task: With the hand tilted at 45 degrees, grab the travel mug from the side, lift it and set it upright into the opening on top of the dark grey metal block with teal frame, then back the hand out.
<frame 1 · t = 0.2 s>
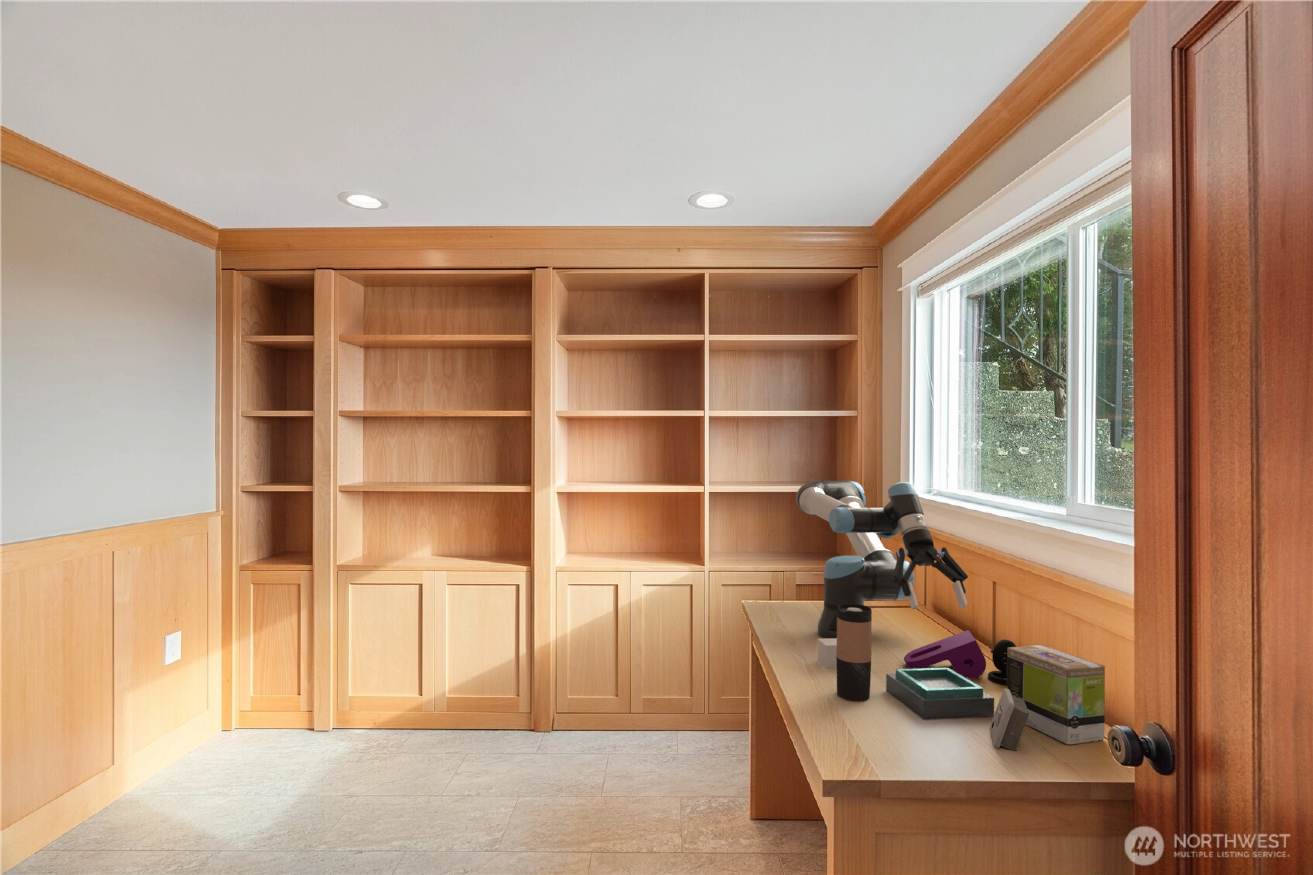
hand: (939, 607, 171), 15 cm above the table, tool tilted 35°, fingers open, 13 cm apart
electrical switch: (1006, 742, 128), on the table
block with teal frame: (937, 703, 146), on the table
travel mug: (853, 696, 150), on the table
webcam: (1004, 681, 161), on the table
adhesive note: (832, 665, 171), on the table
tea box: (1053, 728, 134), on the table
mounting bracket: (942, 671, 169), on the table
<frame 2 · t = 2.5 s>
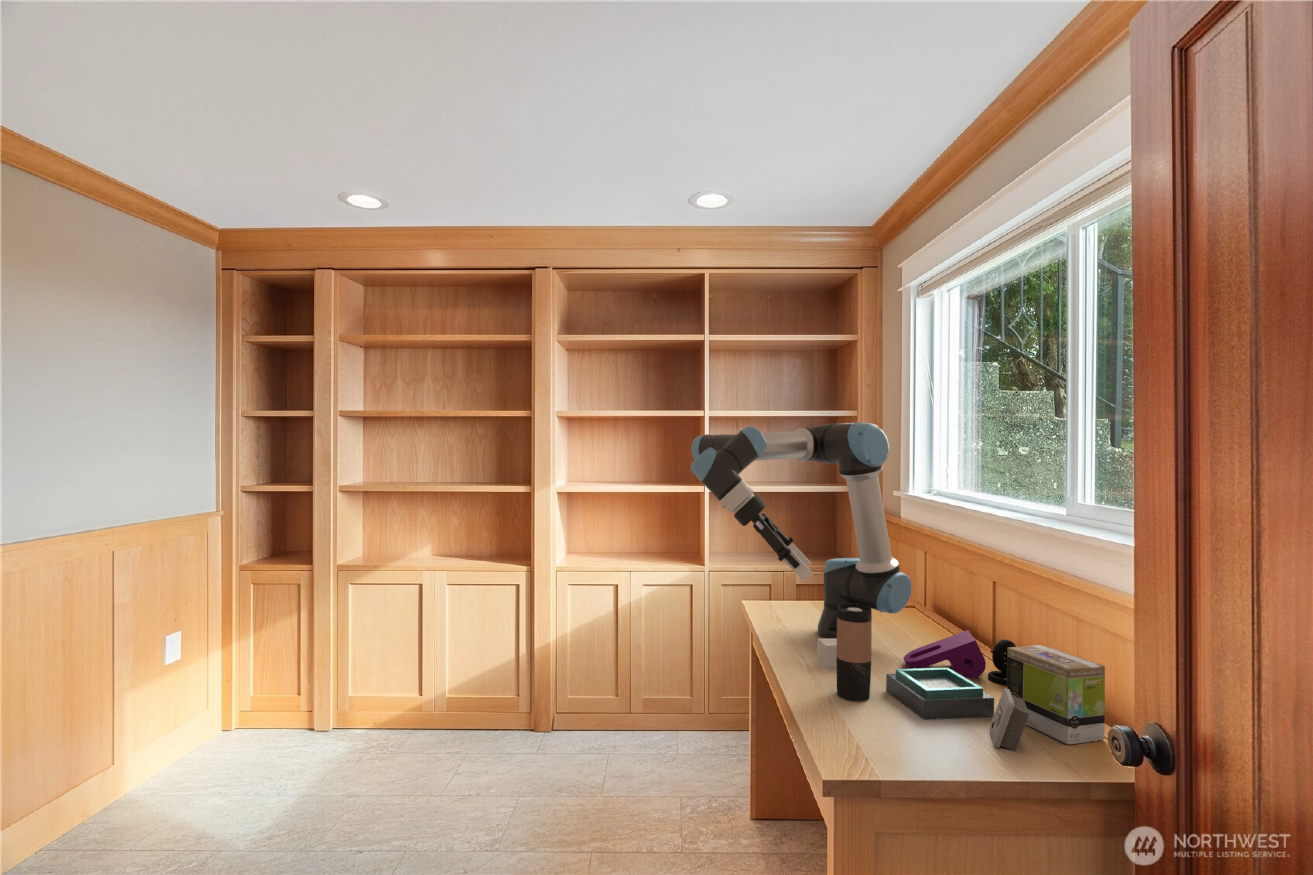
hand: (807, 571, 152), 28 cm above the table, tool tilted 45°, fingers open, 13 cm apart
nothing on the table moved.
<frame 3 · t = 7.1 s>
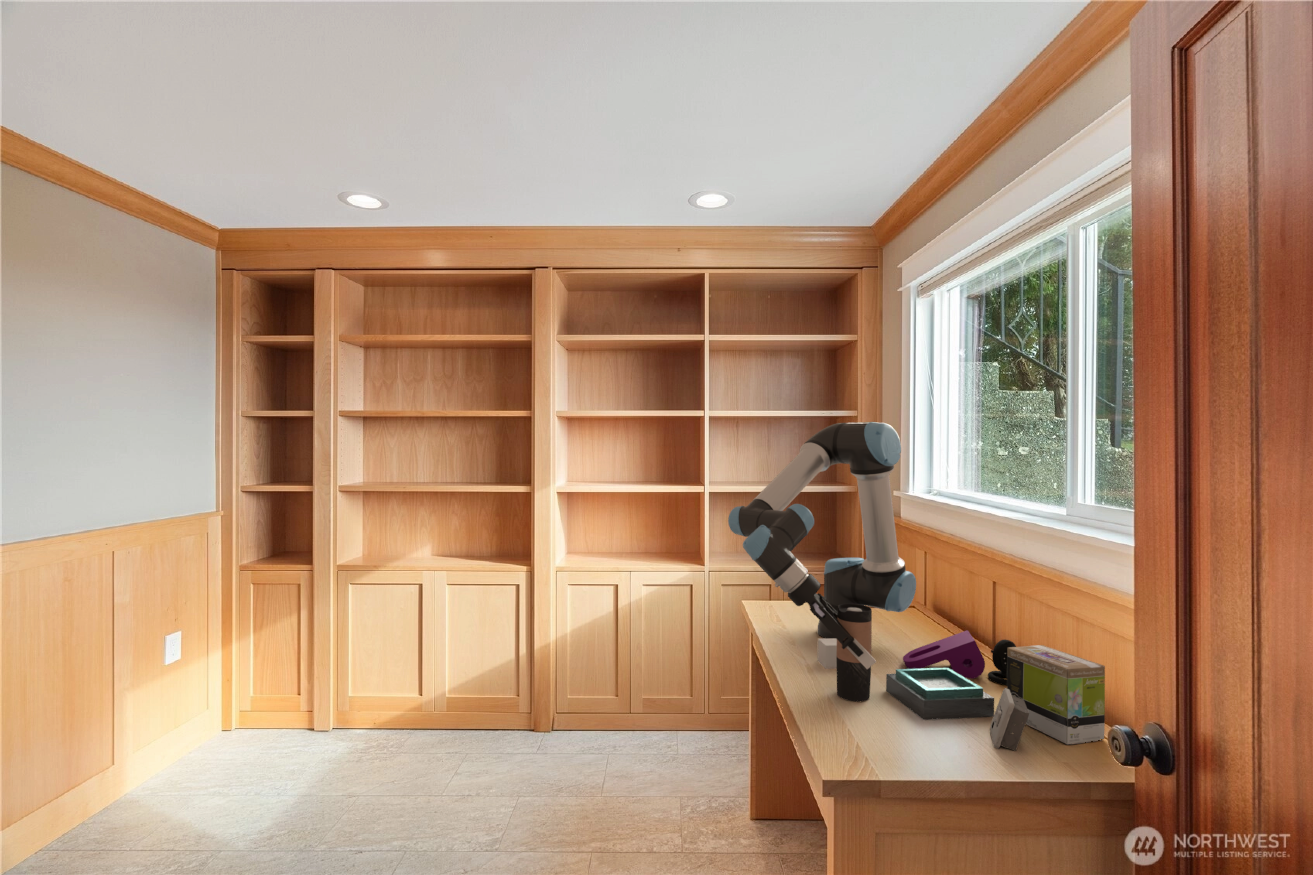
hand: (869, 659, 149), 9 cm above the table, tool tilted 45°, fingers closed on travel mug, 7 cm apart
travel mug: (853, 696, 150), on the table, touching gripper
everything else where it was.
when the fingers open (14 cm above the table, at t = 12.4 s): travel mug drops 1 cm, resting on block with teal frame.
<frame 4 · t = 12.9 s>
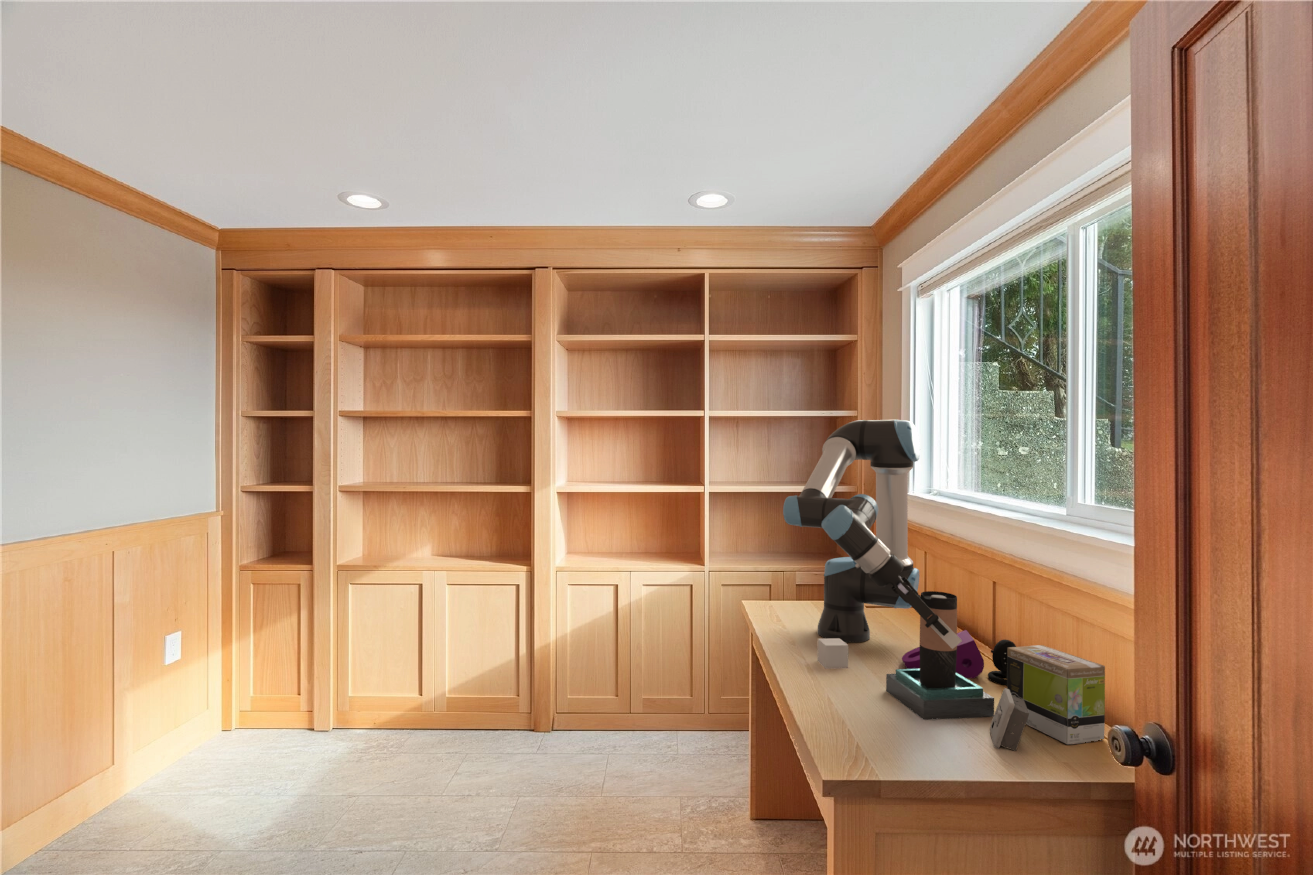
hand: (949, 635, 146), 15 cm above the table, tool tilted 45°, fingers open, 13 cm apart
travel mug: (937, 686, 146), point 4 cm above the table, touching block with teal frame
everything else where it was.
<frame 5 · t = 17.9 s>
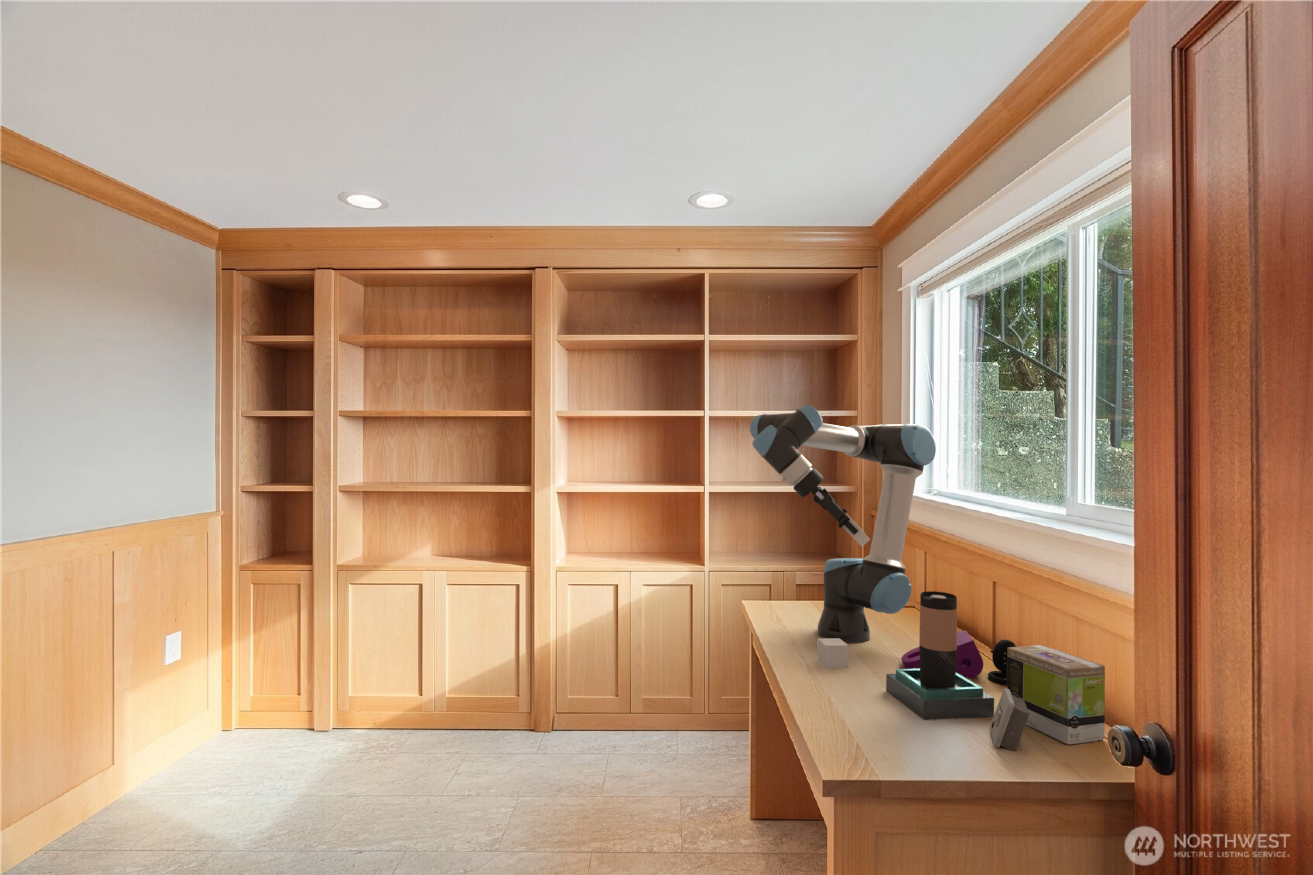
hand: (863, 539, 164), 34 cm above the table, tool tilted 45°, fingers open, 13 cm apart
nothing on the table moved.
at the end: travel mug 0.1 cm off-centre on the block with teal frame, point 3.8 cm above the block with teal frame's base; travel mug tilted 0°; the gripper is holding nothing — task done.
